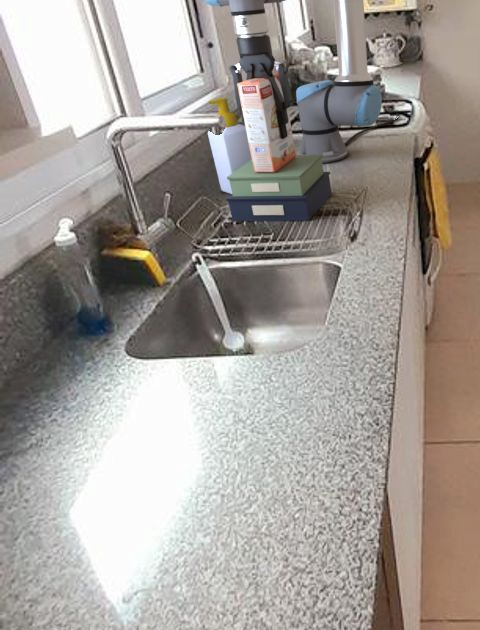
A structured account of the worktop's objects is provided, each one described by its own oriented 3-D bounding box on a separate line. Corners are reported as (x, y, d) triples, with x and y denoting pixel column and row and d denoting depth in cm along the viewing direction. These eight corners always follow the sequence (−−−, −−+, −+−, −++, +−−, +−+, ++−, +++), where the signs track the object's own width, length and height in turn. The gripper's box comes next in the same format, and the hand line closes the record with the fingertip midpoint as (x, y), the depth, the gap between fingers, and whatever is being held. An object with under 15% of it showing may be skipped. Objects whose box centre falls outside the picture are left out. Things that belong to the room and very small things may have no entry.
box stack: (262, 194, 168) (254, 154, 163) (333, 193, 165) (327, 153, 159) (231, 221, 151) (220, 178, 145) (309, 221, 147) (302, 177, 142)
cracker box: (276, 173, 146) (259, 82, 135) (253, 173, 147) (234, 83, 136) (298, 157, 157) (283, 72, 147) (276, 157, 159) (260, 73, 148)
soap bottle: (219, 191, 173) (197, 100, 160) (246, 183, 178) (227, 94, 166) (236, 197, 167) (215, 103, 155) (263, 188, 173) (245, 96, 160)
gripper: (206, 39, 136) (229, 142, 147) (286, 34, 132) (303, 140, 144) (220, 35, 142) (241, 135, 154) (297, 31, 139) (313, 133, 150)
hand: (271, 137), depth 149 cm, fingers closed on cracker box, 6 cm apart
